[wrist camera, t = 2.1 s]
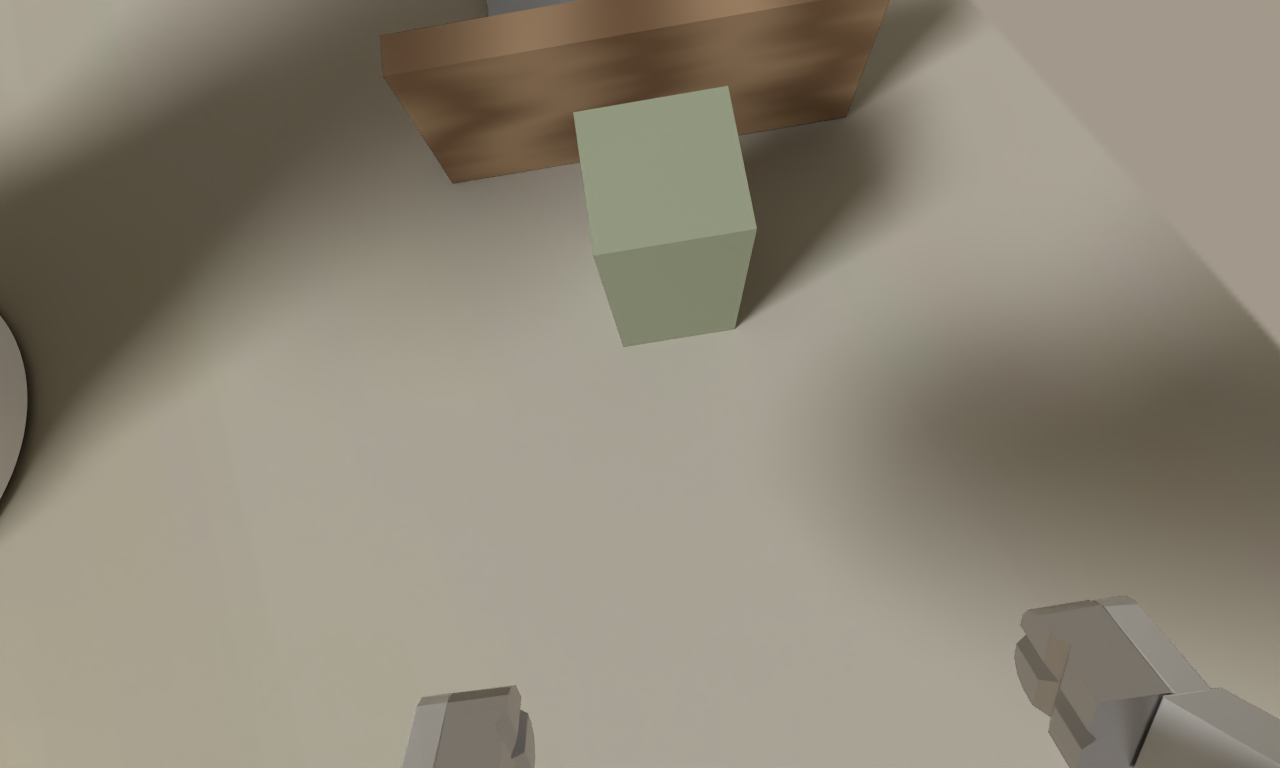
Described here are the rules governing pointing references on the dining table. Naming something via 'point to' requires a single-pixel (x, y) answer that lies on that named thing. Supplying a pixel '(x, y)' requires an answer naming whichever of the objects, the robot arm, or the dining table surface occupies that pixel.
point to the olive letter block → (668, 213)
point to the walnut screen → (620, 70)
